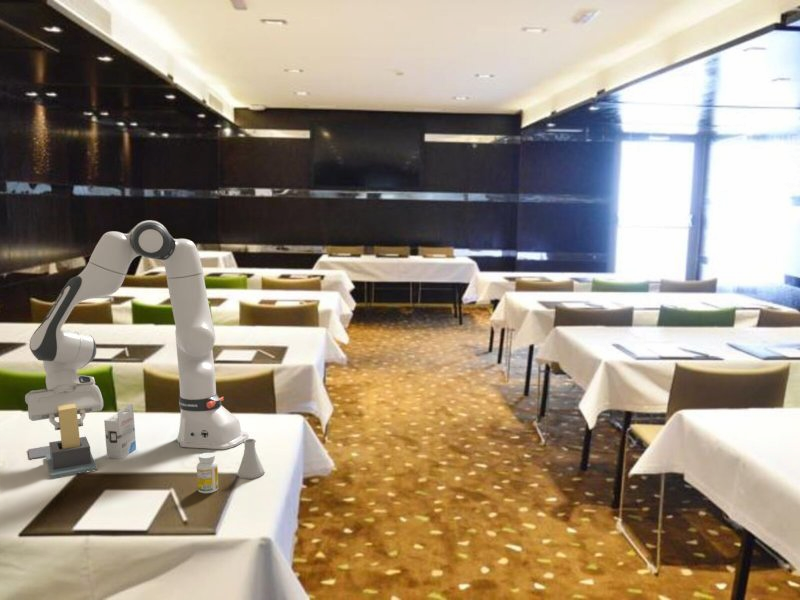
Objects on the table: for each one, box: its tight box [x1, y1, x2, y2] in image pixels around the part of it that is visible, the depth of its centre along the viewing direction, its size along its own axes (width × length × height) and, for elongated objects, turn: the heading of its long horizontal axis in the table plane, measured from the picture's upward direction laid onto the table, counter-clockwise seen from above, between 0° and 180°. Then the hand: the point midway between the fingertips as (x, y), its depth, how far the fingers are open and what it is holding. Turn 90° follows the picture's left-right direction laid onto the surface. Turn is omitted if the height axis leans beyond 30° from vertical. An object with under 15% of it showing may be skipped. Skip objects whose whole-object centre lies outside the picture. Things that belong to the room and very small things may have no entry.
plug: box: [57, 404, 81, 449], centre depth 218 cm, size 5×5×14 cm
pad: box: [27, 445, 50, 460], centre depth 230 cm, size 9×9×1 cm
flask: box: [236, 438, 266, 480], centre depth 210 cm, size 7×7×10 cm
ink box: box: [104, 403, 137, 460], centre depth 227 cm, size 8×5×15 cm, turn 168°
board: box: [45, 453, 98, 479], centre depth 220 cm, size 18×12×1 cm, turn 29°
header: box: [48, 436, 92, 470], centre depth 219 cm, size 10×10×5 cm
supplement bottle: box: [196, 452, 219, 494], centre depth 199 cm, size 5×5×10 cm
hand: (69, 427), depth 217 cm, fingers closed on plug, 5 cm apart
